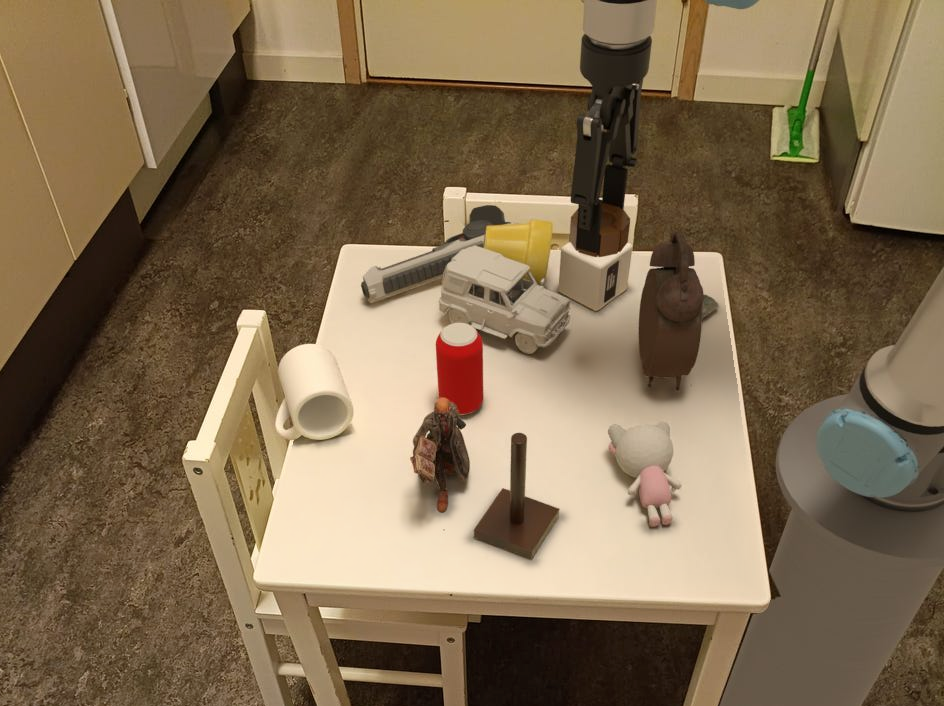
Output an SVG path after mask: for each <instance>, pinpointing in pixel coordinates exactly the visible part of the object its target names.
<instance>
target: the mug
mask: <svg viewBox="0 0 944 706" xmlns="http://www.w3.org/2000/svg"><path fill="white" fill-rule="evenodd" d="M277 374H278V378H279V379H278V380H279V381H280V386H281V389H282V392H283V395H284V398H283V400H282V402H281V403H280V405H279V408H278V411H277V412H276V413H277V414H276V418H275V423H274V424H275V425H274V427H275V431H276V433H277V435H278V436H279V437H280V438H282V439H284V440H286V441H295V440H298V439H299V438H300V437H301V436H303V437H305V438H307V439H310V440H317V441H318V440H321V441H322V440H328V439H331V438H335V437H336V436H339V435H340V434H342V433H343V432H345V430H347V428H348V427H349V426H350V425H351V422H352V420H353V417H354V406H353V403H352V400H351V397H350V394H349V392H348V389H347V388H348V387H347V386H346V383H345V380H344V377H343V375H342V372H341V368H340V366H339V364H338V361H337V358H336V355H334V353H333V352H332V351H331V350H330V349H328V348H327V347H325V346H323V345H320V344H316V343H304V344H300V345H297V346H295V347H293V348H291V349H289V350H288V351H287V352H286V353H285V354H284V355H283V357H282V358H281V359H280V361H279V364H278V368H277ZM289 417H290V418H291V422H292V425H293V426H292V427H290V428H288V429H285V428H284V424H285V422H286V421H287V420H288V419H289Z"/></svg>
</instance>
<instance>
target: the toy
mask: <svg viewBox="0 0 944 706" xmlns="http://www.w3.org/2000/svg"><path fill="white" fill-rule="evenodd" d="M670 434H671V427H670V424H669V423H668V422H666V421H659V422H658V423H656V424H655V425H653V424H647V423H643V424H638V425H633V426H632V427H630V428H628V429H627V430H626V429H625V428H623V427H622V426H621V425H619V424H617V423H613V424H612V425H610V426H609V427H608V429H607V435H608V436H609V439H610V442H609V444H608V450H609V451H610V453H611V454H612V455H615V459H616V462H617V465H618V467H619V468H620V469H621V470H622V471H623V472H624V473H625V474H626V475H628V476H629V477H632V478H635V480H634V481H633V483H631V485H630V486H629V488H628V489H627V495H628V496H630V497H631V498H635V497H636V492H637V490H638V496H639V497H638V498H639V500H640V504H641V506H642V507H643V508H644V509H647V515H648V520H649V526H650V527H653V528H654V527H657V526H659V524H662V525H663V526H665V525H670V524H671V523H672V522H673V515H672V513H671V510H670V508H669V505H670V504H671V502H672V493H675V492H676V490H677V491H679V490H681V488H682V483H681V482H680V480H678V479H677V478H674V477H673V476H671V475H669V474H668V473H665V471H666V470H667V469H668V468H669V466H670V465H671V462H672V460H673V456H674V446H673V442H672V439H671V435H670ZM657 509H659V512H660V516H661V518H660V516H659V513H658V511H657Z"/></svg>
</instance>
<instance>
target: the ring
mask: <svg viewBox="0 0 944 706" xmlns="http://www.w3.org/2000/svg"><path fill="white" fill-rule="evenodd" d="M577 221H578V208H576V210H575V211H574V213H573V214H572V215H571V216H570V223H569V225H570V227H569V239H568V240H569V242H571V244H572V245H573V247H574V248H575V250H576V251H578V252H579V253H582V254H586V255H590V256H593V257H597V256H599V257H604V256H609V255H613V254H618V252H621V250H622V249H623V248H624V246H625V245H626V244H627V242H628V243H629V234H630V227H631V226H630V225H631V217H630V216H629V215H628V214H627V212H626V210H625V208H624V209H620V207H618V206H614V205H610V204H606V203H602V211H601V223H600V234H599V245H598V251H597V252H596V253H593V252H589V251H586V250H582V249H578V248H576V235H577Z"/></svg>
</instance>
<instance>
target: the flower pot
mask: <svg viewBox="0 0 944 706" xmlns="http://www.w3.org/2000/svg"><path fill="white" fill-rule="evenodd" d="M553 224H554V223H553V222H552V221H550V220H543V219H535V218H533V219H530V220H529V222H524V223H522V222H521V223H518V224H517V223H515V224H508V225H492V226H486V230H485V237H484V244H483V248H484V249H487V250H490V251H493V252H497V253H500V254H501V255H502V256H504V257H505V258H508V259H511V260H514V261H517V262H520V263H523V264H526V265H528V266H529V267H530V269H529V271H530V273H531V274H532V276H533V278H534V279H535V281H536V280H537V281H536V283H537V285H539V286H541V280H542V279H543V278H544V284H543V285H542V286H543V287H544V288H545V283H546V277H547V273H548V266H549V261H550V255H551V249H552V241H553V228H554V227H553ZM533 272H534V273H533ZM535 277H536V278H535ZM522 279H525V280H529V281H531V280H530V279H529V277H528V275H527V273H526V274H525V277H524V276H523V278H522Z"/></svg>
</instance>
